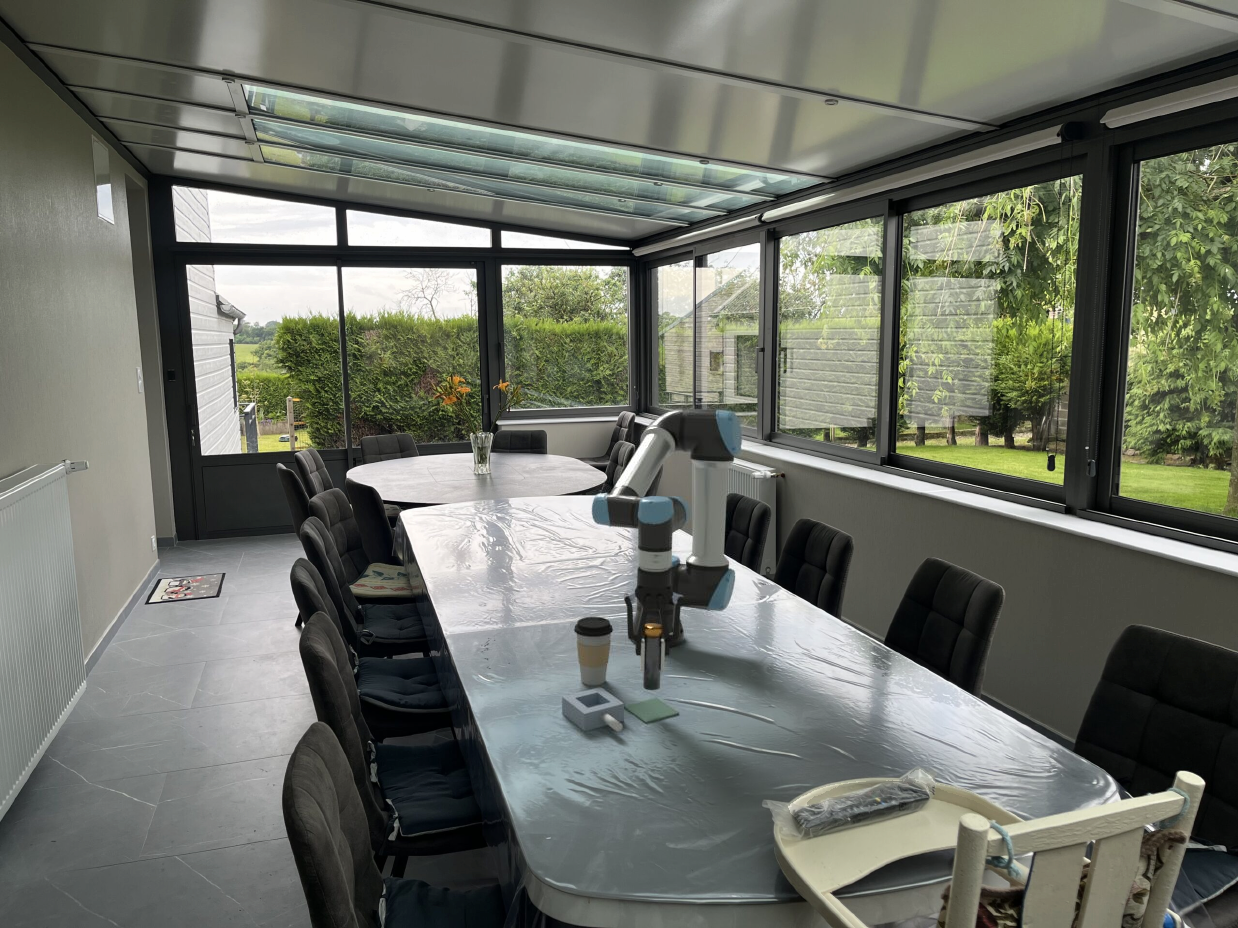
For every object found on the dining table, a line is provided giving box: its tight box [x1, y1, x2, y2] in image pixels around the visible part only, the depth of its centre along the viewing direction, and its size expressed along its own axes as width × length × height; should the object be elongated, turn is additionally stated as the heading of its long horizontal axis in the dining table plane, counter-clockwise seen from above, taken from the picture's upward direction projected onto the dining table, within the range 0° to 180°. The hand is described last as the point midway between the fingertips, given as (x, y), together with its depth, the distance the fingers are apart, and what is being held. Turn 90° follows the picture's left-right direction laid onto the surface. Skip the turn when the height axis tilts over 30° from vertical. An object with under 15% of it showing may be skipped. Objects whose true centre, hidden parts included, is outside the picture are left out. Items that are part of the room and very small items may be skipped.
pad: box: [624, 697, 680, 724], centre depth 188 cm, size 9×9×1 cm
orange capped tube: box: [642, 623, 663, 691], centre depth 186 cm, size 5×5×14 cm
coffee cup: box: [573, 616, 614, 686], centre depth 203 cm, size 9×9×15 cm
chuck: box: [561, 686, 625, 733], centre depth 182 cm, size 16×10×4 cm, turn 32°
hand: (652, 668), depth 187 cm, fingers closed on orange capped tube, 4 cm apart
